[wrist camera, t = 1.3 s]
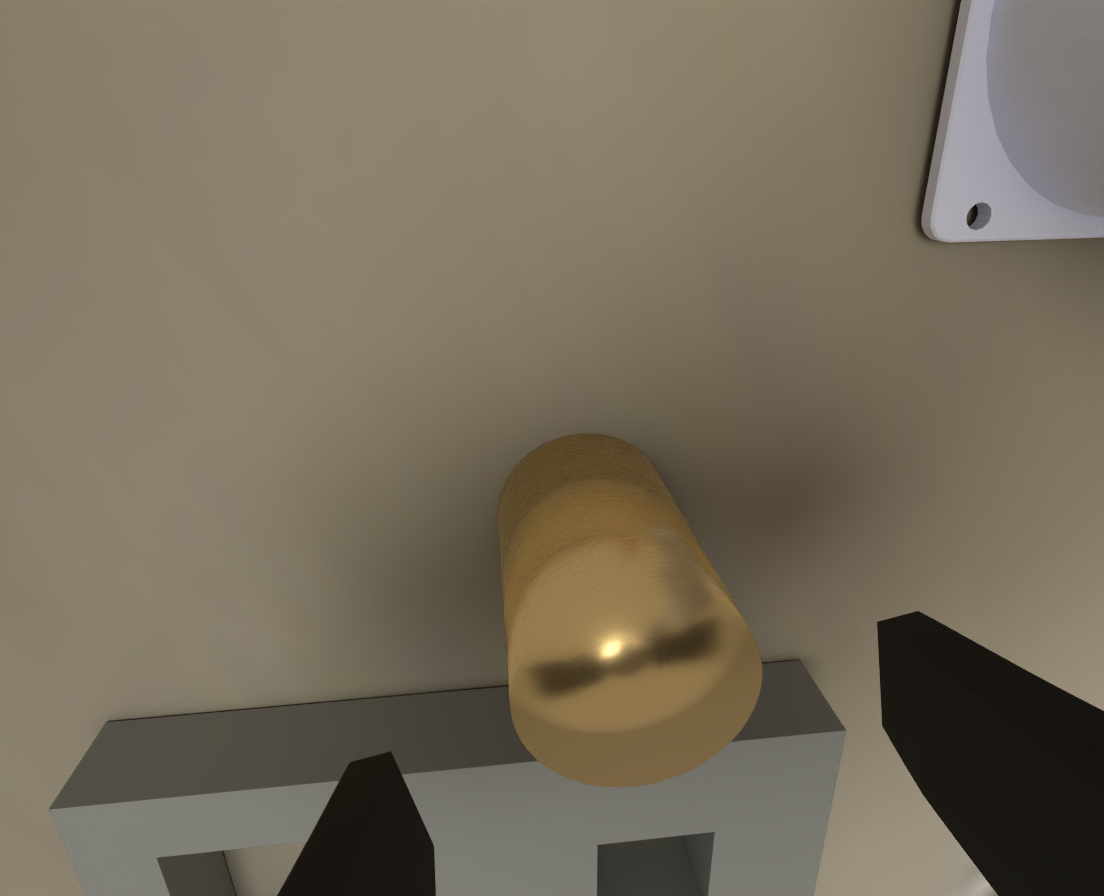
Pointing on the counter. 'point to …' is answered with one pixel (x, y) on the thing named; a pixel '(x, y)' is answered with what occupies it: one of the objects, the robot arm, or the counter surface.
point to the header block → (457, 798)
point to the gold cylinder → (615, 620)
